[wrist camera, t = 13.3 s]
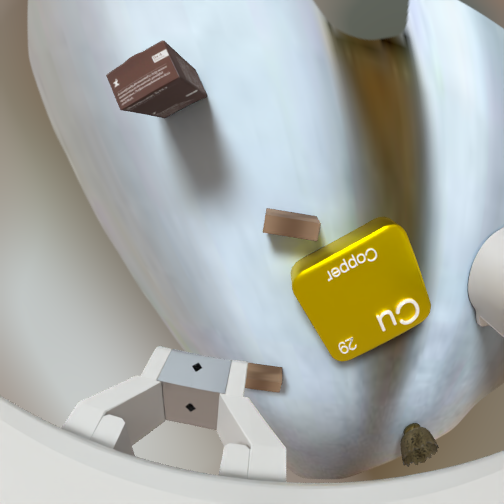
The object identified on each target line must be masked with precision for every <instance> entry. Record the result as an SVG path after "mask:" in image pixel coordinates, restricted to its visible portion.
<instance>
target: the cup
mask: <svg viewBox="0 0 504 504" xmlns="http://www.w3.org/2000/svg"><path fill="white" fill-rule="evenodd" d="M437 448H438V445H437V443H436V441H435V439H434V438H433V436H432V435H431V433H430V432H429V431H428V430H427V429H426V428H423V427H420V425H419V424H417V423H413V424H410V425H408V426H407V427H406V428H405V429H404V436H403V438H402V440H401V453H402V460H403V464H404V465H407V466H409V465H410V463H412V462H414V463H415V465H418V463H419V462H420V463H423V462H425V461H426V459H427V458H431V454H435V453H436V452H437Z"/></svg>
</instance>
